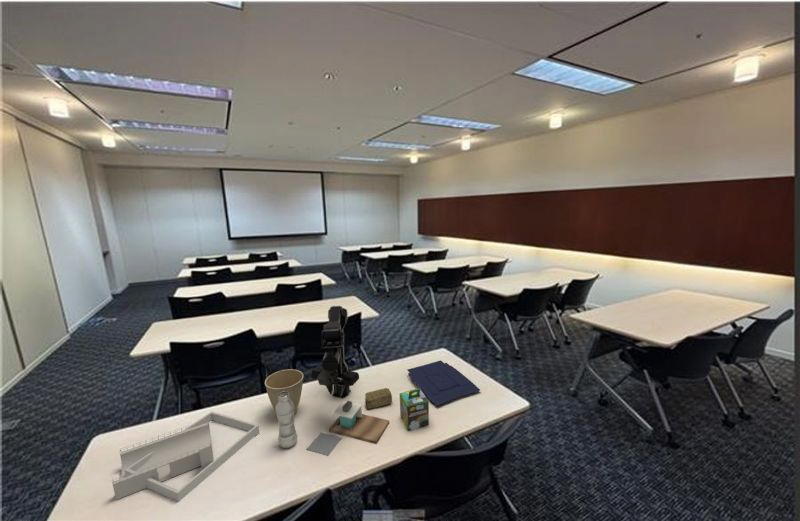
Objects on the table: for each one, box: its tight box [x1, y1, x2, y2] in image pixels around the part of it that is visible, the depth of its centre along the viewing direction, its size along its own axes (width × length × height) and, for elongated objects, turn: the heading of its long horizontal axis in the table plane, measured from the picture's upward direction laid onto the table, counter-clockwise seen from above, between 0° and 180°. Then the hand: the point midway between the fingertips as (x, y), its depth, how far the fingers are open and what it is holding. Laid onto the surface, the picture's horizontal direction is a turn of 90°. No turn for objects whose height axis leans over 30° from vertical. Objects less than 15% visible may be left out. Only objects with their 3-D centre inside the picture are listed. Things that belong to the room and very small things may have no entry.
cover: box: [332, 400, 363, 419], centre depth 123 cm, size 8×8×7 cm
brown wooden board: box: [328, 413, 390, 445], centre depth 122 cm, size 20×12×2 cm, turn 69°
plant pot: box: [264, 368, 304, 416], centre depth 131 cm, size 15×15×16 cm
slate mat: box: [306, 431, 342, 457], centre depth 114 cm, size 9×9×1 cm
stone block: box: [364, 387, 393, 410], centre depth 136 cm, size 6×12×5 cm, turn 107°
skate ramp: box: [111, 419, 215, 501], centre depth 103 cm, size 25×19×10 cm
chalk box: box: [399, 387, 430, 432], centre depth 124 cm, size 9×9×15 cm
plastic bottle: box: [275, 391, 298, 449], centre depth 113 cm, size 6×7×20 cm
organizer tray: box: [125, 410, 260, 502], centre depth 110 cm, size 25×31×4 cm
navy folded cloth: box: [406, 359, 481, 406], centre depth 151 cm, size 24×30×4 cm
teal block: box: [339, 414, 357, 429], centre depth 124 cm, size 4×4×6 cm
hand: (335, 394), depth 124 cm, fingers open, 4 cm apart
